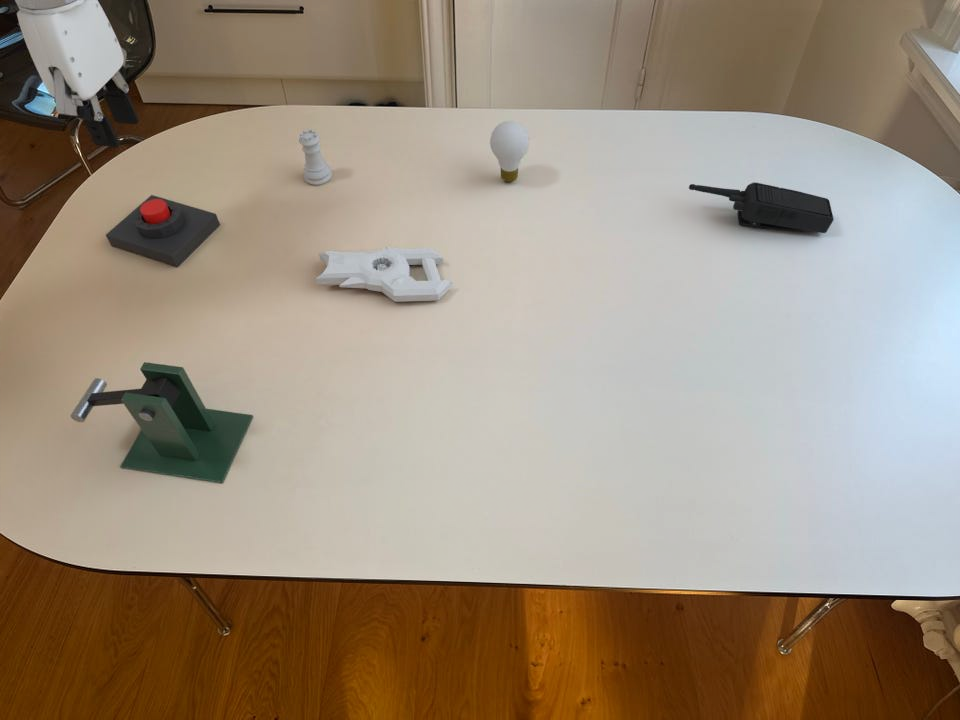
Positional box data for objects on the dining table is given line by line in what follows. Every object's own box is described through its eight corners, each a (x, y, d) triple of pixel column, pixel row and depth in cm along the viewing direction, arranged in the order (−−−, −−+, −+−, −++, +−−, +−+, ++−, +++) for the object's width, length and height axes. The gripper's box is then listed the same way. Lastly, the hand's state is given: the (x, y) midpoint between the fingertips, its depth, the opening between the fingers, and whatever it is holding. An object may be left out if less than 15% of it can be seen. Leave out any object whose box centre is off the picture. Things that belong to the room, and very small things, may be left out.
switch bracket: (124, 472, 79) (75, 411, 70) (160, 407, 84) (119, 343, 75) (225, 487, 77) (188, 427, 68) (255, 420, 83) (225, 356, 74)
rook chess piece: (299, 183, 112) (287, 139, 105) (312, 167, 114) (301, 123, 108) (324, 188, 111) (314, 144, 104) (337, 172, 113) (328, 128, 107)
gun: (312, 291, 91) (317, 241, 97) (316, 310, 93) (321, 259, 100) (453, 287, 92) (449, 238, 99) (453, 306, 95) (449, 256, 101)
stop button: (139, 221, 101) (134, 211, 100) (156, 206, 103) (151, 196, 102) (159, 227, 100) (154, 217, 99) (175, 212, 102) (171, 202, 101)
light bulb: (510, 164, 114) (511, 108, 106) (535, 181, 111) (538, 125, 103) (482, 179, 111) (481, 122, 104) (507, 197, 108) (508, 140, 101)
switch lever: (80, 425, 76) (63, 412, 75) (103, 389, 79) (88, 375, 78) (165, 419, 72) (150, 405, 70) (187, 381, 75) (172, 366, 73)
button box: (111, 246, 103) (99, 225, 100) (156, 206, 109) (146, 184, 106) (177, 267, 100) (167, 246, 97) (220, 225, 105) (212, 203, 102)
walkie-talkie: (832, 236, 98) (689, 212, 99) (814, 239, 104) (680, 216, 105) (842, 191, 97) (698, 168, 98) (824, 197, 103) (688, 175, 104)
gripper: (59, -48, 83) (123, 96, 97) (-31, 19, 72) (56, 170, 86) (118, -44, 82) (174, 100, 96) (35, 24, 71) (112, 175, 85)
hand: (117, 132), depth 91 cm, fingers open, 4 cm apart
